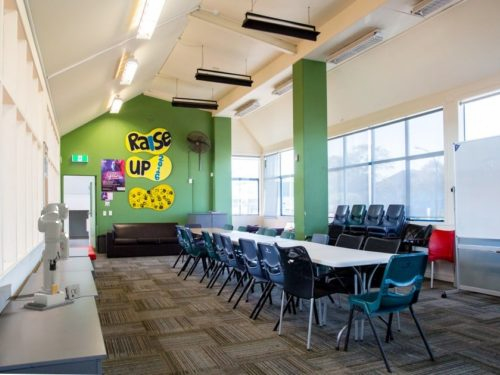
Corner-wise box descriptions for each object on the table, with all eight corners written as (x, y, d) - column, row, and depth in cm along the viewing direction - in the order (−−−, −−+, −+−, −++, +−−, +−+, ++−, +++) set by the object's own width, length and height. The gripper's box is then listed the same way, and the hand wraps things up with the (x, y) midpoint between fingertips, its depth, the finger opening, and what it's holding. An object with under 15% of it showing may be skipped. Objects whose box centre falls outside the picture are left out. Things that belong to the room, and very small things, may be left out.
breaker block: (23, 307, 247) (23, 292, 247) (54, 299, 266) (54, 286, 266) (43, 310, 238) (43, 295, 238) (74, 303, 257) (74, 289, 257)
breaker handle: (51, 293, 249) (51, 285, 249) (55, 292, 252) (55, 284, 252) (53, 293, 248) (53, 285, 248) (57, 293, 251) (57, 284, 251)
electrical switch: (69, 300, 265) (69, 285, 265) (64, 300, 267) (63, 286, 268) (81, 297, 273) (81, 283, 274) (76, 297, 275) (75, 283, 276)
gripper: (40, 241, 252) (39, 270, 251) (55, 241, 245) (54, 272, 244) (50, 240, 259) (50, 268, 258) (66, 240, 252) (65, 270, 251)
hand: (52, 270), depth 251 cm, fingers closed
